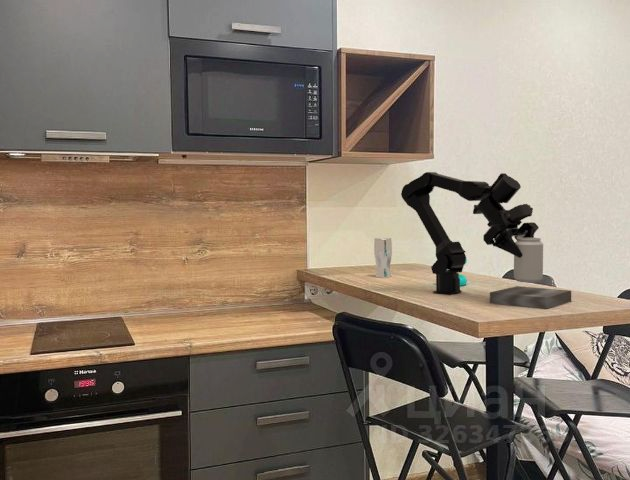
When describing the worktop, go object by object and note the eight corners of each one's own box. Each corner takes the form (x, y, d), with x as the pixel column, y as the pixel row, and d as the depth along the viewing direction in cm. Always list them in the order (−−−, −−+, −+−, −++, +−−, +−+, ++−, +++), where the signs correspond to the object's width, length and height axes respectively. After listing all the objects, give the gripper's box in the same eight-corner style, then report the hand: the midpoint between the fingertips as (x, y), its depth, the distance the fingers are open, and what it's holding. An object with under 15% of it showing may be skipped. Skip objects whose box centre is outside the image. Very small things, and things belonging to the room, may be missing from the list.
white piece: (396, 276, 231) (395, 238, 230) (382, 278, 227) (381, 239, 226) (384, 275, 237) (383, 237, 236) (370, 276, 233) (370, 238, 232)
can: (530, 278, 168) (531, 236, 167) (548, 282, 161) (549, 237, 160) (508, 280, 165) (508, 237, 165) (525, 283, 158) (525, 238, 158)
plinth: (489, 303, 165) (489, 292, 165) (516, 296, 176) (516, 286, 176) (546, 309, 154) (546, 297, 154) (571, 301, 165) (571, 290, 165)
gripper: (492, 194, 160) (528, 237, 152) (533, 194, 171) (568, 234, 163) (468, 223, 167) (501, 265, 159) (509, 221, 178) (542, 260, 170)
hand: (529, 255), depth 162 cm, fingers closed on can, 7 cm apart
